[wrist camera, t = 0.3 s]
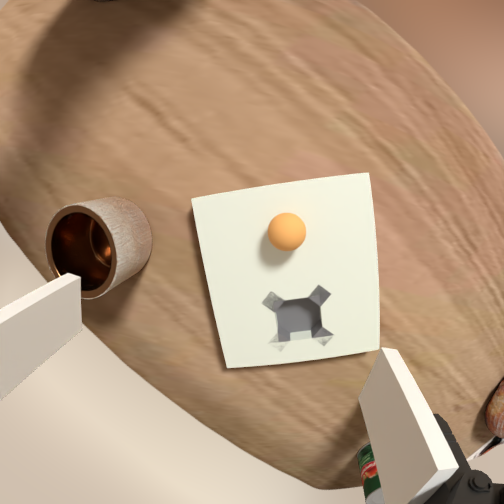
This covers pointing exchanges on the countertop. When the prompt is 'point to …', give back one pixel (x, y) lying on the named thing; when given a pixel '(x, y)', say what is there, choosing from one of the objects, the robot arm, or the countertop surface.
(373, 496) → the canned tomato
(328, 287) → the plate
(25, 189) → the countertop surface
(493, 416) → the bread
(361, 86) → the countertop surface
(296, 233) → the ball
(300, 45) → the countertop surface
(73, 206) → the planter
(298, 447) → the countertop surface
